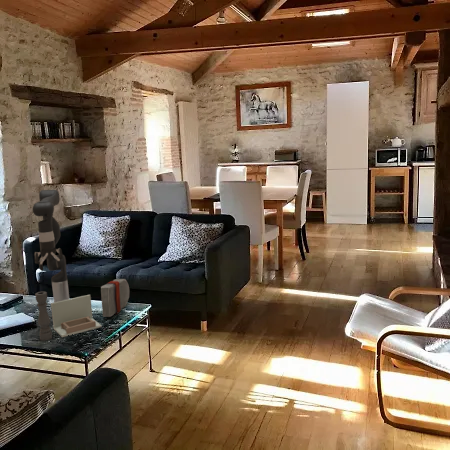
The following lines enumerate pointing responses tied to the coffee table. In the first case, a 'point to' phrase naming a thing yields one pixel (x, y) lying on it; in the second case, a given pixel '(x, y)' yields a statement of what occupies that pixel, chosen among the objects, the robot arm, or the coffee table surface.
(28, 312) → the coffee table surface
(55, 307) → the board
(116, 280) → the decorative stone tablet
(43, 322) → the candle holder
